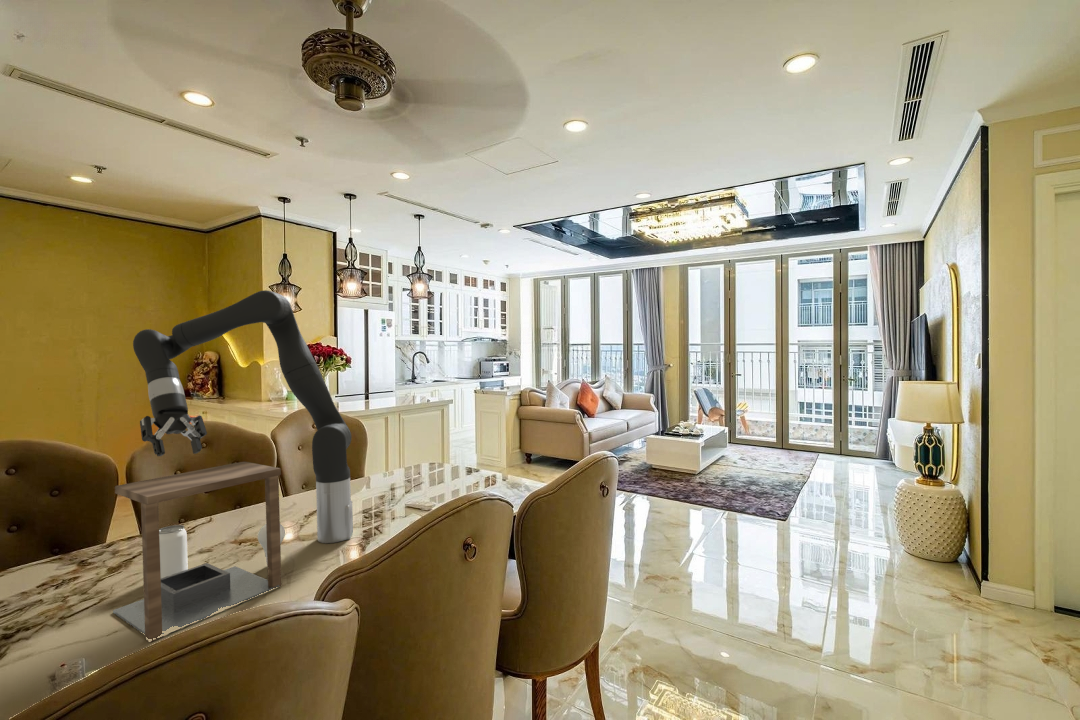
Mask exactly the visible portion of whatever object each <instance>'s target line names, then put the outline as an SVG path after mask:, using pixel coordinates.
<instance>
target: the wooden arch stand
mask: <svg viewBox="0 0 1080 720" xmlns="http://www.w3.org/2000/svg"><path fill="white" fill-rule="evenodd" d="M281 471H282V469H281V468H280V467H277V466H276V467H275V466H270V465H266V464H259V463H255V462H250V461H239V462H234V463H229V464H224V465H219V466H214V467H207V468H203V469H198V470H192V471H191V470H190V471H186V472H183V473H177V474H171V475H166V476H160V477H156V478H150V479H144V480H139V481H134V482H129V483H124V484H119V485H118V484H117V485H115V486H114V494H116V495H118V496H121V497H124V498H127V499H130V500H132V501H135V502H138V503H140V509H141V511H140V512H141V513H140V514H141V515H140V517H141V541H142V542H141V546H142V547H141V548H142V550H141V551H142V576H143V599H144V614H145V635H144V638H145V637H147V638H148V639H152V641H153V642H154V641H156V640H153V638H157V637H158V636H160V635H161V634H162V605H161V573H160V541H159V529H160V516H159V515H160V514H159V512H160V511H159V503H162V502H169V501H172V500H175V499H182V498H184V497H189V496H194V495H198V494H202V493H206V492H207V493H208V492H211V491H216V490H220V489H224V488H229V487H234V486H238V485H243V484H246V483H250V482H255V481H260V480H264V485H265V486H264V489H265V490H264V491H265V521H266V522H265V524H266V531H267V562H266V565H267V580H268V586H270V587H275V588H276V586H278V585H279V586H281V585H282V583H283V582H282V557H281V555H282V553H281V545H280V524H281V520H280V517H281V515H280V513H281V512H280V483H279V476H281V475H282V472H281ZM279 586H278V587H279ZM279 588H280V587H279ZM161 638H163V637H160V639H161ZM157 640H159V638H157ZM152 641H151V642H148V643H153V642H152Z"/></svg>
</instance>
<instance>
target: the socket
mask: <svg viewBox="0 0 1080 720" xmlns="http://www.w3.org/2000/svg"><path fill="white" fill-rule="evenodd" d="M278 586H279V585H278ZM278 586H276V587H278ZM273 588H275V587H270V586H268V578H264V577H262V576H259V575H257V574H254V573H252V572H250V571H247V570H246V569H243V568H241V567H238V566H232V567H229V568H226V569H221V568H219V567H217V566H214V565H213V564H210V563H208V562H206V563H203V564H200V565H196V566H194V567H191V568H188V570H185V571H182V572H179V573H176V574H173V575H170V576H167V577H164V578H161V605H162V631H166V630H167V629H169V628H170V627H172V626H173V627H174V626H178V627H182V626H184V625H186V624H190V623H192V622H194V621H197V620H201V619H204V618H206V617H207V616H210V615H211V614H212V613H214V612H216V611H218V608H219V609H220V608H221V607H222V608H223V607H226V606H231V605H234V604H237V603H239V602H241V601H244V600H248V599H250V598H252V597H255V596H257V595H259V594H261V593H264V592H266V591H269V590H271V589H273ZM112 614H114V615H115V614H116V615H115V616H117V617H118V618H120V619H121V620H122V619H123V620H122V621H124V622H125V621H126V622H125V623H126V624H128V623H129V624H130V625H129V624H128V625H129V626H131V625H132V626H133V627H132V626H131V627H132V628H134V627H135V628H136V629H137V630H136V629H135V628H134V629H135V630H136V631H138V630H139V631H140V632H139V631H138V632H139V633H141V632H142V633H144V634H145V614H144V598H143V599H140V600H138V601H135V602H134V601H133V602H132V603H129V604H126V605H124V606H120V607H118V608H115V609H113V610H112ZM204 620H205V619H204ZM142 633H141V634H142ZM162 634H164V633H162ZM156 639H157V638H156ZM157 640H158V639H157Z"/></svg>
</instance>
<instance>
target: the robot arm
mask: <svg viewBox="0 0 1080 720" xmlns="http://www.w3.org/2000/svg"><path fill="white" fill-rule="evenodd" d="M259 323H263V324H266V327H267V328H268V330H269V331H270V333H271V335H272V337H273V339H274V341H275V343H276V347H277V351H278V352H277V353H278V360H279V365H280V370H281V373H282V376H283V377H284V380H285V381H286V383H287V386H288V387H289V390H290V391H291V393H292V394H293V395H294V397H295V398H296V399H297V401H299V402H300V404H302V406H303V407H304V408H305V409H306V410H307V412H308V413H309V415H310V416H311V418H312V420H313V423H314V425H315V428H316V432H315V433H314V434H313V436H312V441H311V452H312V453H311V455H312V456H311V457H312V468H313V473H314V475H315V489H316V491H315V493H316V496H315V497H316V529H317V530H316V531H317V532H316V533H317V534H316V535H317V541H318V542H319V543H320V544H321V543H322V544H333V543H339V542H342V541H345V540H350V539H351V537H352V535H353V533H354V518H353V517H354V516H353V512H354V511H353V501H352V496H351V495H352V494H351V469H350V467H349V466H348V461H347V460H348V459H347V455H348V454H347V449H348V448H349V446H350V445H351V442H352V432H351V430H350V428H349V426H348V425H347V424H346V423H347V422H346V421H345V420H344V419H343V417H342V415H341V413H340V412H339V410H338V409H337V407H336V405H335V403H334V400H333V398H332V396H331V394H330V393H331V392H330V391H329V389H328V385H327V384H326V382H325V380H324V377H323V374H322V372H321V370H320V368H319V366H318V364H317V361H316V360H315V358H314V357H313V354H312V352H311V350H310V348H309V346H308V344H307V342H306V341H305V339H304V337H303V335H302V333H301V331H300V328H299V326H298V323H297V321H296V316H295V314H294V311H293V309H292V305H291V303H290V302H289V300H288V299H287V297H285V296H284V295H282V294H280V293H278V292H274V291H272V290H267V289H266V290H260V291H256V292H255V293H253V294H251V295H249V296H247V297H245V298H243V299H241V300H239V301H237V302H235V303H233V304H231V305H228V306H226V307H224V308H222V309H219V310H217V311H214V312H211V313H208V314H205V315H203V316H198V317H196V318H193V319H190V320H186V321H184V322H181V323H178V324H176V325H175V326H173V328H172V330H171V334H172V335H165V334H163V333H162V332H159V331H157V330H155V329H151V328H150V329H147V328H146V329H142V330H140V331H139V332H137V333H136V334H135V336H134V338H133V341H132V347H133V351H134V353H135V357H137V360H138V361H139V364H140V366H141V367H142V369H143V370H144V373H145V378H146V383H147V391H148V392H147V393H148V399H149V403H150V407H151V412H152V417H151V416H149V415H146V416H144V417H143V418H141V419H140V420H139V426H140V433H141V434H140V435H141V440H142V442H146V443H147V442H149V443H151V445H152V448H153V454H155V455H156V456H157V457H162V456H164V455H165V453H166V451H165V445H164V441H163V439H162V438H163V436H164V435H165V434H166V435H172V434H175V435H179V434H181V435H182V436H183V437H187V438H188V440H190V444H191V445H190V446H191V449H192V450H191V451H192V453H193V454H194V455H196V454H198V453H201V450H202V449H203V445H202V442H201V439H202V438H204V437H206V435H207V434H208V432H207V428H206V425H205V423H204V419H203V416H202V415H197V416H193V417H191V416H190V415H189V413H188V412H189V408H188V404H187V399H186V395H185V390H184V387H183V384H182V382H181V379H180V374H179V370H178V367H177V365H176V364H175V363H174V361H172V359H175V358H177V357H178V356H181V354H183V353H184V352H186V351H188V350H189V349H191V348H192V347H196V346H199V345H202V344H205V343H207V342H210V341H213V340H216V339H217V338H220V337H222V336H224V335H225V334H227V333H229V332H230V331H232V330H235V329H237V328H240V327H243V326H247V325H253V324H259ZM153 425H154V426H155V427H157V428H158V429H157V430H156V432H155V433H154V434H153ZM186 429H187V430H186Z"/></svg>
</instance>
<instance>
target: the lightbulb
mask: <svg viewBox="0 0 1080 720" xmlns="http://www.w3.org/2000/svg"><path fill="white" fill-rule="evenodd" d="M285 535H286V529H285V527H284V526H283V524H281V523H280V546H281V544H282V542H283V541H284V538H285V537H286V536H285ZM257 540H258V543H259V544H260V546H261V547H262V548H263V551H264V557H265V559H266V563H267V531H266V523H265V524H264V525H263V526H262V527H261V528H260V529H259V531H258V532H257Z"/></svg>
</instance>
